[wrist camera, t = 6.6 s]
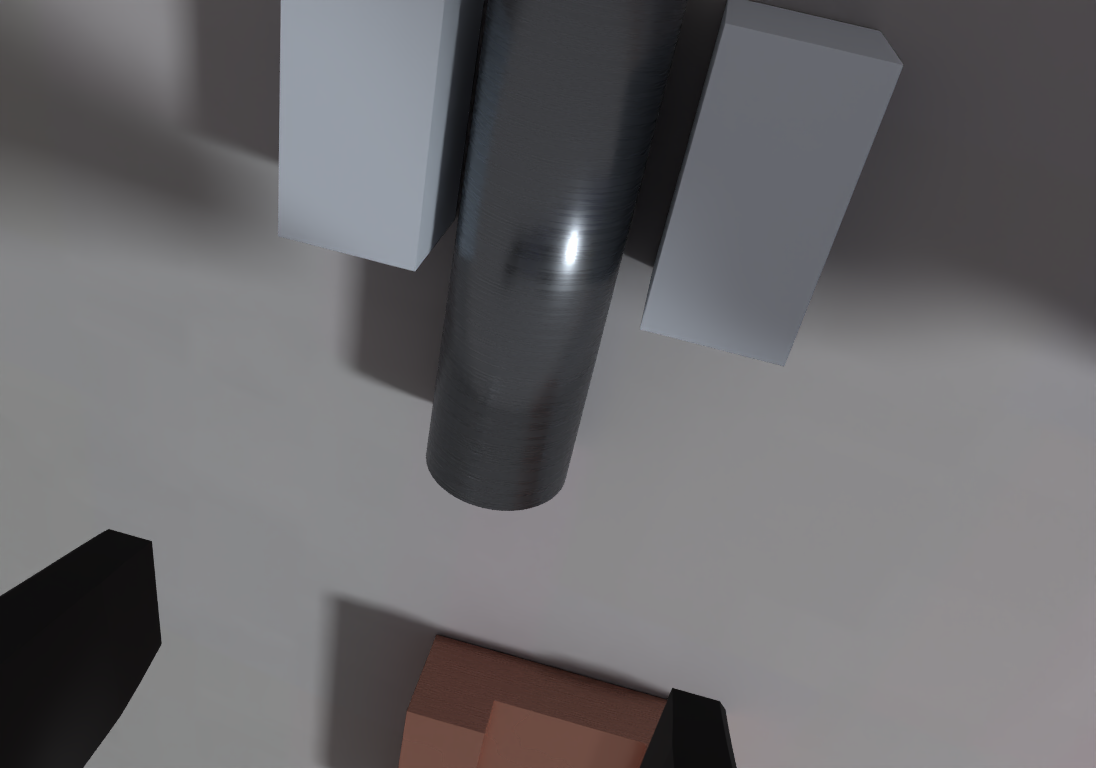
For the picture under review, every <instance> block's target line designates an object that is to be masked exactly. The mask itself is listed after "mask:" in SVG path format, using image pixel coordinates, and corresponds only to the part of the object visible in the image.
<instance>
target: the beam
mask: <svg viewBox="0 0 1096 768" xmlns="http://www.w3.org/2000/svg"><path fill="white" fill-rule="evenodd" d="M483 4H484V0H281V31H280V115H279V198H278V236H279V237H283V238H287V239H291V240H294V241H298V242H302V243H306V244H310V245H314V246H318V247H322V248H326V249H329V250H333V251H337V252H341V253H345V254H349V255H353V256H357V257H361V258H364V259H368V260H372V261H376V262H380V263H384V264H388V265H392V266H396V267H399V268H403V269H407V270H411V271H416V270H417V268H418V267H419V266H420V264H421V263H422V262H423V260H424V259H425V258H426V256H427V255H428V254H429V252H430V251H431V250H432V248H433V247H434V246H435V245H436V243H437V242H438V241H439V239H440V238H441V237H442V235H443V234H444V233H445V231H446V230H447V229H448V227H449V226H450V225H451V224H452V222H453V221H454V220H455V215H456V208H457V200H458V193H459V185H460V178H461V170H462V162H463V155H464V147H465V140H466V132H467V125H468V117H469V110H470V102H471V95H472V87H473V79H474V72H475V64H476V57H477V49H478V42H479V34H480V27H481V19H482V11H483ZM902 68H903V63H902V62H901V60H900V59H899V57H898V56H897V55H896V53H895V52H894V50H893V49H892V47H891V46H890V44H889V43H888V41H887V40H886V38H885V37H884V35H883V34H882V32H881V31H878V30H874V29H869V28H865V27H861V26H856V25H852V24H848V23H843V22H839V21H835V20H831V19H826V18H822V17H818V16H813V15H809V14H805V13H800V12H796V11H792V10H787V9H783V8H779V7H775V6H770V5H766V4H762V3H757V2H753V1H749V0H727V3H726V7H725V10H724V14H723V18H722V21H721V25H720V29H719V32H718V36H717V39H716V43H715V47H714V50H713V54H712V57H711V61H710V65H709V68H708V72H707V75H706V79H705V83H704V86H703V90H702V94H701V97H700V101H699V104H698V108H697V112H696V115H695V119H694V122H693V126H692V130H691V133H690V137H689V141H688V144H687V148H686V151H685V155H684V159H683V162H682V166H681V169H680V173H679V177H678V180H677V184H676V187H675V191H674V195H673V198H672V202H671V206H670V209H669V213H668V216H667V220H666V224H665V227H664V231H663V234H662V238H661V242H660V245H659V249H658V253H657V256H656V260H655V263H654V267H653V271H652V276H651V280H650V285H649V289H648V294H647V299H646V303H645V308H644V313H643V317H642V322H641V326H640V329H641V330H644V331H648V332H652V333H656V334H660V335H664V336H668V337H672V338H676V339H679V340H683V341H687V342H691V343H695V344H699V345H703V346H707V347H711V348H714V349H718V350H722V351H726V352H730V353H734V354H738V355H742V356H746V357H749V358H753V359H757V360H761V361H765V362H769V363H773V364H777V365H780V366H784V365H785V363H786V360H787V358H788V355H789V353H790V350H791V348H792V345H793V343H794V340H795V338H796V335H797V333H798V330H799V328H800V325H801V323H802V320H803V318H804V315H805V313H806V310H807V307H808V305H809V302H810V300H811V297H812V295H813V292H814V290H815V287H816V285H817V282H818V280H819V277H820V275H821V272H822V270H823V267H824V265H825V262H826V260H827V257H828V255H829V252H830V249H831V247H832V244H833V242H834V239H835V237H836V234H837V232H838V229H839V227H840V224H841V222H842V219H843V217H844V214H845V212H846V209H847V207H848V204H849V202H850V199H851V197H852V194H853V191H854V189H855V186H856V184H857V181H858V179H859V176H860V174H861V171H862V169H863V166H864V164H865V161H866V159H867V156H868V154H869V151H870V149H871V146H872V144H873V141H874V139H875V136H876V134H877V131H878V128H879V126H880V123H881V121H882V118H883V116H884V113H885V111H886V108H887V106H888V103H889V101H890V98H891V96H892V93H893V91H894V88H895V86H896V83H897V81H898V78H899V76H900V73H901V70H902Z"/></svg>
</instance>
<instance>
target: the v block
mask: <svg viewBox="0 0 1096 768" xmlns="http://www.w3.org/2000/svg"><path fill="white" fill-rule="evenodd" d="M666 702H667V700H666V699H662V698H659V697H655V696H652V695H648V694H645V693H641V692H638V691H634V690H631V689H627V688H624V687H620V686H616V685H613V684H609V683H606V682H602V681H599V680H595V679H592V678H588V677H585V676H581V675H578V674H574V673H570V672H567V671H563V670H560V669H556V668H553V667H549V666H546V665H542V664H539V663H535V662H532V661H528V660H524V659H521V658H517V657H514V656H510V655H507V654H503V653H500V652H496V651H493V650H489V649H486V648H482V647H479V646H475V645H471V644H468V643H464V642H461V641H457V640H454V639H450V638H447V637H443V636H440V635H436V637H435V640H434V642H433V645H432V648H431V650H430V653H429V655H428V658H427V660H426V663H425V666H424V668H423V671H422V673H421V676H420V678H419V681H418V684H417V686H416V689H415V691H414V694H413V697H412V699H411V702H410V704H409V707H408V709H407V713H406V720H405V726H404V733H403V740H402V747H401V753H400V760H399V767H398V768H640V765H641V763H642V760H643V758H644V756H645V753H646V751H647V748H648V746H649V743H650V741H651V739H652V736H653V734H654V731H655V729H656V726H657V724H658V722H659V719H660V717H661V714H662V712H663V709H664V707H665V705H666Z"/></svg>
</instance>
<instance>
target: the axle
mask: <svg viewBox="0 0 1096 768" xmlns="http://www.w3.org/2000/svg"><path fill="white" fill-rule="evenodd" d="M686 4H687V0H488V5H487V13H486V20H485V27H484V34H483V42H482V49H481V56H480V64H479V71H478V78H477V86H476V93H475V100H474V108H473V115H472V122H471V130H470V137H469V144H468V152H467V159H466V166H465V174H464V181H463V188H462V196H461V203H460V210H459V217H458V225H457V232H456V239H455V247H454V254H453V261H452V269H451V276H450V283H449V291H448V298H447V305H446V313H445V320H444V327H443V335H442V342H441V349H440V357H439V364H438V371H437V379H436V386H435V393H434V401H433V408H432V415H431V422H430V430H429V437H428V444H427V452H426V462H427V466H428V469H429V471H430V473H431V475H432V477H433V478H434V479H435V481H436V482H437V483H438V484H439V485H440V486H441V487H442V488H443V489H444V490H446V491H447V492H448V493H450V494H451V495H453V496H454V497H456V498H458V499H460V500H462V501H464V502H467V503H469V504H472V505H475V506H478V507H482V508H487V509H492V510H501V511H514V510H523V509H528V508H532V507H536V506H539V505H541V504H543V503H545V502H547V501H549V500H550V499H552V498H553V497H554V496H555V495H557V493H558V492H559V491H560V490H561V488H562V487H563V485H564V482H565V479H566V475H567V471H568V467H569V463H570V460H571V456H572V452H573V448H574V444H575V440H576V436H577V432H578V428H579V424H580V420H581V416H582V412H583V408H584V405H585V401H586V397H587V393H588V389H589V385H590V381H591V377H592V373H593V369H594V365H595V361H596V357H597V354H598V350H599V346H600V342H601V338H602V334H603V330H604V326H605V322H606V318H607V314H608V310H609V306H610V302H611V299H612V295H613V291H614V287H615V283H616V279H617V275H618V271H619V267H620V263H621V259H622V255H623V251H624V247H625V244H626V240H627V236H628V232H629V228H630V224H631V220H632V216H633V212H634V208H635V204H636V200H637V196H638V193H639V189H640V185H641V181H642V177H643V173H644V169H645V165H646V161H647V157H648V153H649V149H650V145H651V141H652V138H653V134H654V130H655V126H656V122H657V118H658V114H659V110H660V106H661V102H662V98H663V94H664V90H665V86H666V83H667V79H668V75H669V71H670V67H671V63H672V59H673V55H674V51H675V47H676V43H677V39H678V35H679V32H680V28H681V24H682V20H683V16H684V12H685V8H686Z"/></svg>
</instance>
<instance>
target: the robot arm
mask: <svg viewBox="0 0 1096 768" xmlns="http://www.w3.org/2000/svg"><path fill="white" fill-rule="evenodd" d="M161 644H162V643H161V633H160V622H159V612H158V601H157V591H156V580H155V569H154V559H153V548H152V541H149V540H145V539H142V538H138V537H135V536H131V535H128V534H124V533H121V532H117V531H114V530H110V529H108V530H106V531H104V532H102V533H101V534H99V535H97V536H96V537H94V538H92V539H91V540H89V541H88V542H86V543H84V544H83V545H81V546H79V547H78V548H76V549H75V550H73V551H71V552H70V553H68V554H67V555H65V556H63V557H62V558H60V559H59V560H57V561H56V562H54V563H52V564H51V565H49V566H48V567H46V568H44V569H43V570H41V571H40V572H38V573H36V574H35V575H33V576H32V577H30V578H28V579H27V580H25V581H24V582H22V583H20V584H19V585H17V586H16V587H14V588H12V589H11V590H9V591H8V592H6V593H4V594H3V595H1V596H0V768H83V767H84V766H85V764H86V763H87V762H88V760H89V759H90V758H91V756H92V755H93V753H94V752H95V751H96V749H97V748H98V747H99V745H100V744H101V742H102V741H103V740H104V738H105V737H106V736H107V734H108V733H109V731H110V730H111V729H112V727H113V726H114V724H115V723H116V722H117V720H118V719H119V717H120V716H121V714H122V713H123V711H124V709H125V708H126V706H127V704H128V702H129V701H130V699H131V697H132V696H133V694H134V692H135V691H136V689H137V687H138V686H139V684H140V682H141V680H142V678H143V677H144V675H145V673H146V671H147V669H148V668H149V666H150V664H151V662H152V660H153V659H154V657H155V655H156V653H157V651H158V650H159V648H160V646H161ZM640 768H737V767H736V763H735V758H734V753H733V749H732V744H731V738H730V733H729V728H728V722H727V716H726V710H725V708H724V707H723V705H722V704H721V702H720V701H717V700H713V699H710V698H706V697H703V696H699V695H695V694H692V693H688V692H685V691H681V690H678V689H674V688H672V690H671V692H670V695H669V697H668V700H667V702H666V705H665V707H664V709H663V712H662V714H661V717H660V719H659V722H658V724H657V726H656V729H655V731H654V734H653V736H652V739H651V741H650V743H649V746H648V748H647V751H646V753H645V756H644V758H643V760H642V763H641V765H640Z"/></svg>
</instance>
